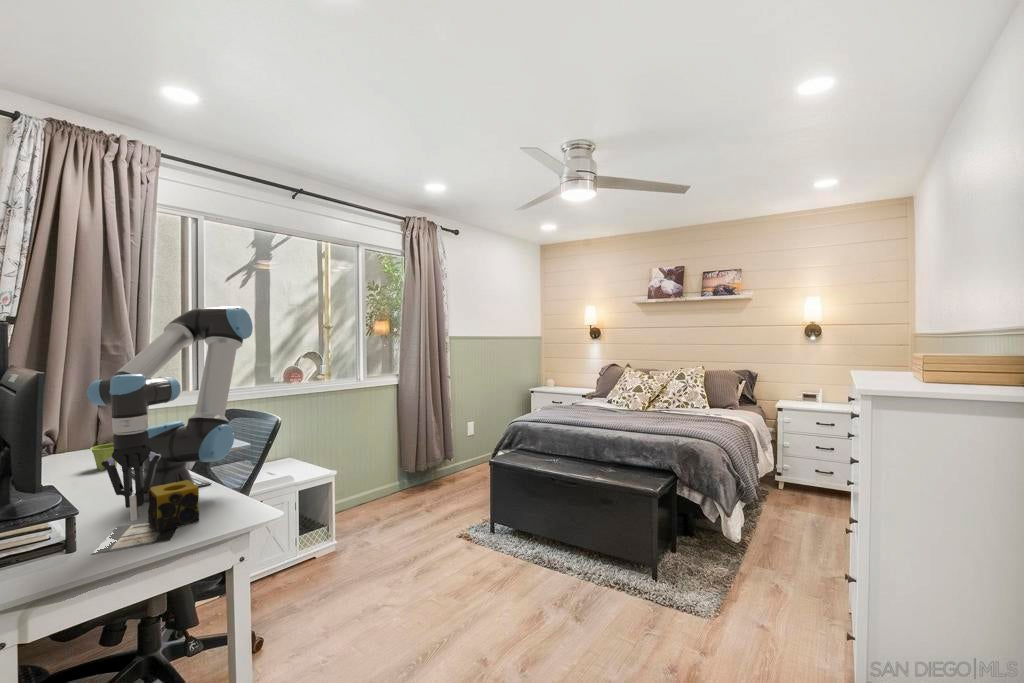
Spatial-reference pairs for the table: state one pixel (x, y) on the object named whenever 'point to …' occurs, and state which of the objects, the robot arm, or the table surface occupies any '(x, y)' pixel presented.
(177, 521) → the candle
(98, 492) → the table surface
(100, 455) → the plant pot
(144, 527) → the label plate
